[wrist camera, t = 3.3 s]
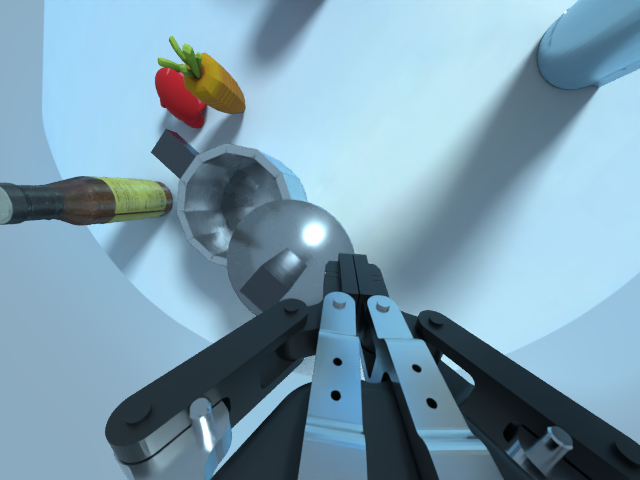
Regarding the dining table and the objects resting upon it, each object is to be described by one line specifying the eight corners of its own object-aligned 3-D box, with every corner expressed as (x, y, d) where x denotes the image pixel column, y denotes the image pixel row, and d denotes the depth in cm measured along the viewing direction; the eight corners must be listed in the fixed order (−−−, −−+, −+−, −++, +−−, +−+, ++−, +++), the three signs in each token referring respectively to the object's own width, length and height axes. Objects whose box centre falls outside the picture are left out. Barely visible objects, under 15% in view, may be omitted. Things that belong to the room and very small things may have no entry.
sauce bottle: (154, 173, 42) (-18, 150, 23) (181, 196, 42) (32, 194, 23) (135, 202, 44) (-41, 204, 24) (162, 225, 44) (6, 246, 24)
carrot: (224, 121, 39) (146, 73, 24) (232, 87, 38) (154, 18, 24) (253, 129, 39) (191, 86, 24) (261, 96, 38) (201, 30, 23)
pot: (373, 246, 39) (379, 261, 29) (311, 309, 42) (297, 342, 32) (232, 117, 39) (191, 89, 29) (181, 190, 42) (128, 187, 32)
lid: (412, 288, 29) (437, 328, 20) (323, 370, 32) (310, 436, 23) (284, 171, 29) (251, 158, 20) (208, 265, 32) (151, 290, 23)
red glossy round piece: (151, 69, 36) (136, 98, 34) (175, 49, 33) (160, 80, 31) (199, 111, 43) (189, 138, 40) (222, 98, 40) (213, 126, 38)
